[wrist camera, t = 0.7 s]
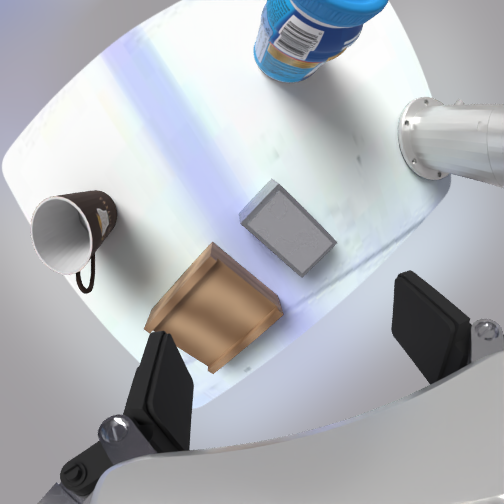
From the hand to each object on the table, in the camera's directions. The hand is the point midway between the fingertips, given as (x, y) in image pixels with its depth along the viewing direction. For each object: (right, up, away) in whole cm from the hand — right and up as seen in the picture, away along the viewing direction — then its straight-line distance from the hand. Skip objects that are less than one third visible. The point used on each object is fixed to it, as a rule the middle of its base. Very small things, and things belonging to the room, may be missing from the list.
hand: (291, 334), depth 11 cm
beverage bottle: (+3, +28, +18) cm, 33 cm away
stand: (-7, -4, +29) cm, 30 cm away
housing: (+2, +7, +26) cm, 27 cm away
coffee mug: (-23, +7, +24) cm, 34 cm away
